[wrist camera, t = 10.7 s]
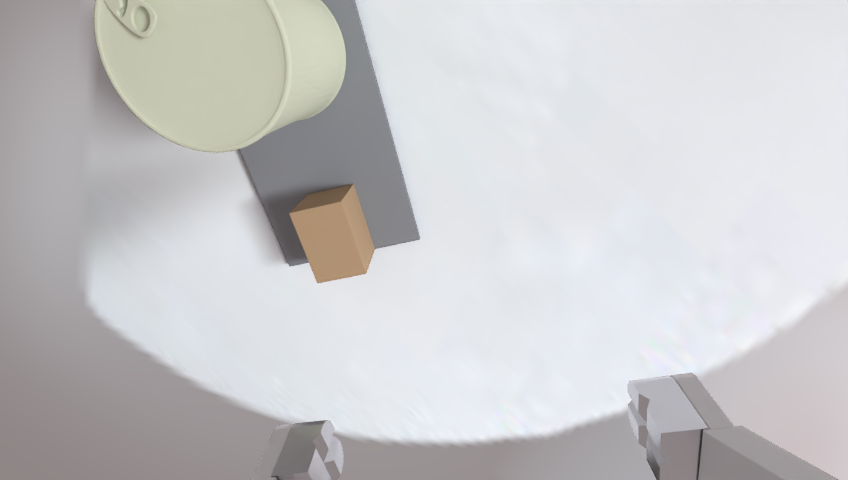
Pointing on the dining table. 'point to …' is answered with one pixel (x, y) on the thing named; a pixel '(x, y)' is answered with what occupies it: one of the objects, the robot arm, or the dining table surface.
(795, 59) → the dining table surface
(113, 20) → the can
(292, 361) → the dining table surface
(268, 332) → the dining table surface
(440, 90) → the dining table surface
